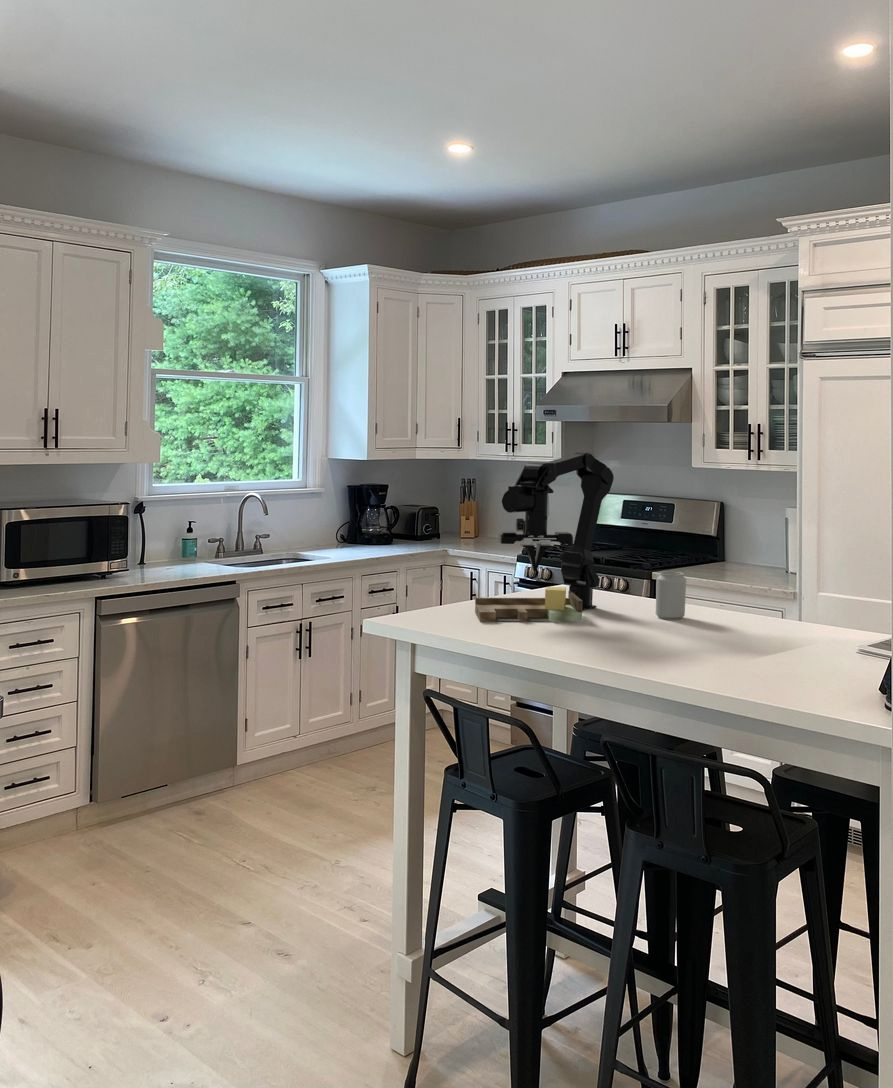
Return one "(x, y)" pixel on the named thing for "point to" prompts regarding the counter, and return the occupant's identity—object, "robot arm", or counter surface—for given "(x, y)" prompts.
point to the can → (670, 595)
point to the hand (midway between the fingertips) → (534, 570)
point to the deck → (527, 610)
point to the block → (555, 598)
